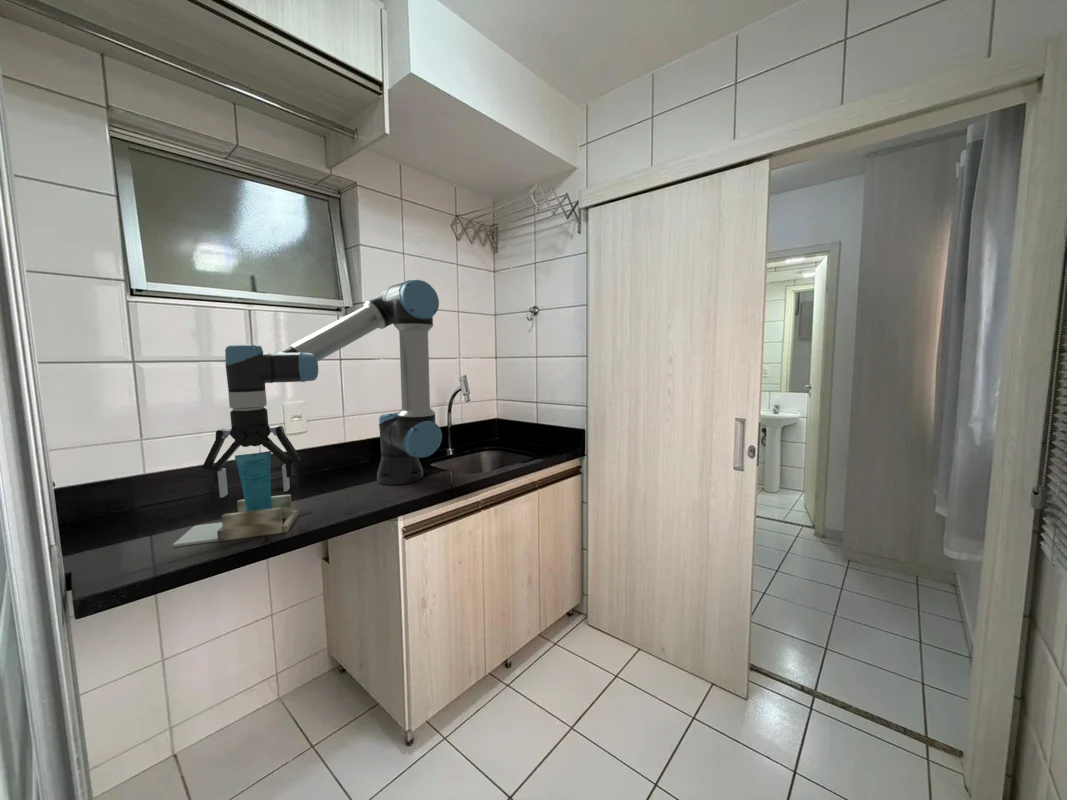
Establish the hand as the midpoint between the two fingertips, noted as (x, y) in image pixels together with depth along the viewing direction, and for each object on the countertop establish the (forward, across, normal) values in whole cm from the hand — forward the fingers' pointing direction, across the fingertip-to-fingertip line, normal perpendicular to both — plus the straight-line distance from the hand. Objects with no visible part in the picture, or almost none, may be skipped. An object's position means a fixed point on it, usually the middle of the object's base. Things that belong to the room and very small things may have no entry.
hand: (256, 492), depth 104 cm
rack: (+9, 0, 0) cm, 9 cm away
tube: (+9, 0, 0) cm, 9 cm away
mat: (+9, +11, 0) cm, 14 cm away
